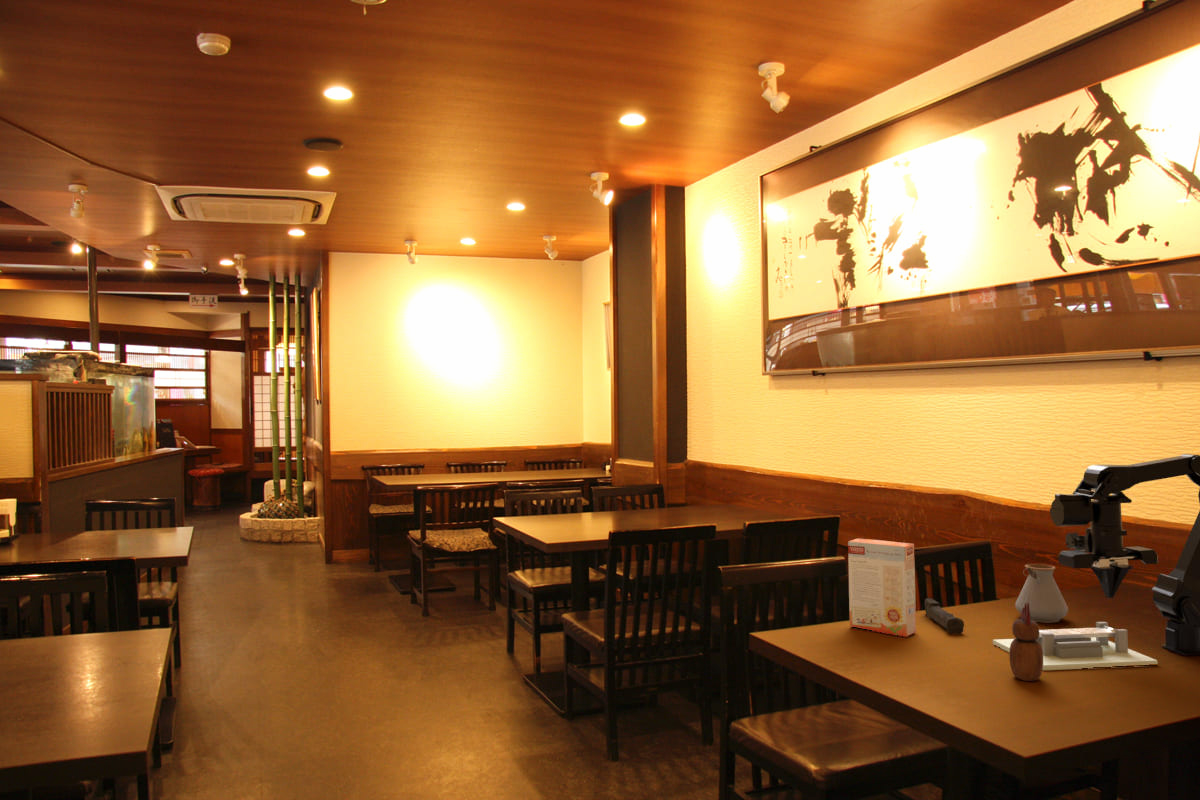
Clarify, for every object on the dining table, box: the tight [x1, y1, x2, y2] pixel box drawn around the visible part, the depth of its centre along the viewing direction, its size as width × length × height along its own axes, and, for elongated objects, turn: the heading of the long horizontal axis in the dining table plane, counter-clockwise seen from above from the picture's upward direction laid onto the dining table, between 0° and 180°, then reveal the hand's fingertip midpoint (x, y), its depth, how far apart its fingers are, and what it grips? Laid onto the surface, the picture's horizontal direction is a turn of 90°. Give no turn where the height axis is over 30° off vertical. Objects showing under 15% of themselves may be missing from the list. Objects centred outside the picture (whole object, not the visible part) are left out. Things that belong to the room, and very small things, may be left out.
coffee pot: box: [1014, 563, 1069, 624], centre depth 196 cm, size 21×12×15 cm, turn 142°
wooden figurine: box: [1008, 603, 1043, 682], centre depth 158 cm, size 7×6×15 cm
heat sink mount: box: [992, 621, 1158, 671], centre depth 172 cm, size 24×18×6 cm
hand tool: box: [924, 597, 965, 635], centre depth 198 cm, size 19×4×5 cm, turn 175°
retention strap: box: [1039, 625, 1116, 639], centre depth 172 cm, size 17×4×2 cm, turn 94°
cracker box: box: [847, 538, 917, 638], centre depth 192 cm, size 14×6×21 cm, turn 47°
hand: (1109, 597), depth 173 cm, fingers closed
